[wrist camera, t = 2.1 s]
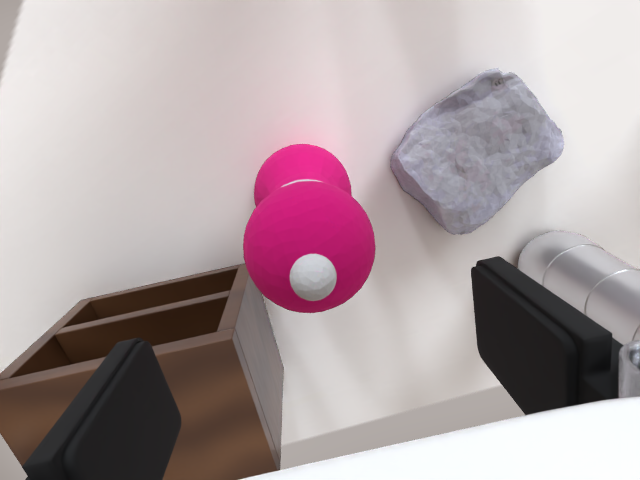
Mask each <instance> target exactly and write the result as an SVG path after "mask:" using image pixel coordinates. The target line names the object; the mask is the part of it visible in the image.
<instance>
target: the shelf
mask: <svg viewBox="0 0 640 480" xmlns="http://www.w3.org/2000/svg"><path fill="white" fill-rule="evenodd" d="M134 338H142V339H143V340H144V341H148V342H149V343H150V344H151V346H152V348H153V351H154V353H155V355H156V358H157V360H158V362H159V365H160V367H161V369H162V372H163V374H164V376H165V379H166V381H167V384H168V386H169V388H170V391H171V393H172V395H173V398H174V400H175V402H176V405H177V407H178V409H179V412H180V415H181V422H182V423H181V429H180V432H179V434H178V437H177V440H176V443H175V446H174V449H173V451H172V454H171V457H170V460H169V463H168V465H167V468H166V471H165V474H164V477H163V480H239V479H243V478H248V477H252V476H257V475H261V474H265V473H270V472H274V471H279V470H280V459H281V429H282V399H283V368H284V367H283V364H282V361H281V357H280V354H279V351H278V347H277V344H276V340H275V337H274V334H273V330H272V327H271V324H270V320H269V317H268V314H267V310H266V307H265V304H264V300H263V297H262V293H261V291H260V290H259V289H258V288H257V287H256V285H255V284H254V282H253V280H252V279H251V277H250V275H249V273H248V270H247V268H246V264H245V263H244V264H240V265H236V266H231V267H227V268H222V269H218V270H213V271H209V272H204V273H200V274H195V275H191V276H186V277H182V278H178V279H173V280H169V281H164V282H160V283H155V284H151V285H146V286H142V287H137V288H133V289H128V290H124V291H120V292H115V293H111V294H106V295H102V296H97V297H94V298H88V299H84V300H81V301H80V302H79V303H78V304H77V305H75V306H74V307H73V308H72V309H71V310H70V311H69V312H68V313H67V314H66V315H64V316H63V317H62V318H61V319H60V320H59V321H58V322H57V323H56V324H54V325H53V326H52V327H51V328H50V329H49V330H48V331H47V332H46V333H44V334H43V335H42V336H41V337H40V338H39V339H38V340H37V341H36V342H35V343H33V344H32V345H31V346H30V347H29V348H28V349H27V350H26V351H25V352H23V353H22V354H21V355H20V356H19V357H18V358H17V359H16V360H15V361H14V362H12V363H11V364H10V365H9V366H8V367H7V368H6V369H5V370H4V371H2V372H1V373H0V434H1V435H2V437H3V438H4V440H5V441H6V443H7V444H8V446H9V447H10V449H11V450H12V452H13V453H14V455H15V456H16V458H17V460H18V461H19V462H20V464H21V466H23V465H24V464H25V462H26V461H27V460H28V458H29V457H30V456H31V454H32V453H33V452H34V450H35V449H36V448H37V447H38V445H39V444H40V443H41V441H42V440H43V439H44V437H45V436H46V435H47V434H48V432H49V431H50V430H51V428H52V427H53V426H54V424H55V423H56V422H57V420H58V419H59V418H60V417H61V415H62V414H63V413H64V411H65V410H66V409H67V407H68V406H69V405H70V403H71V402H72V401H73V400H74V398H75V397H76V396H77V394H78V393H79V392H80V390H81V389H82V388H83V386H84V385H85V384H86V383H87V381H88V380H89V379H90V377H91V376H92V375H93V373H94V372H95V371H96V369H97V368H98V367H99V366H100V364H101V363H102V362H103V360H104V359H105V358H106V356H107V355H108V354H109V353H110V351H111V350H112V349H113V347H114V346H115V345H116V344H117V343H118V342H121V341H126V340H130V339H134Z"/></svg>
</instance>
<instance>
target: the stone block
mask: <svg viewBox="0 0 640 480" xmlns="http://www.w3.org/2000/svg"><path fill="white" fill-rule="evenodd" d="M563 147H564V140H563V136H562V132H561V130H560V129H559V128H557V126H556V124H555V123H554V122H553V121H552V120H551V119H550V118H549V116H548V115H547V114H546V112H545V110H544V109H543V107H542V106H541V105H540V104H539V102H538V100H537V98H536V97H535V96H534V94H533V93H532V92H531V91H530V90H529V88H528V87H527V86H526V85H525V83H524V82H523V80H522V79H520V78H519V77H518V76H517V75H516V74H514V73H512V72H509V73H502V72H501V71H500V70H499V69H498V68H496V69H491V70H487V71H485V72H482V73H480V74H479V75H477V76H476V77H475V78H473V79H472V80H471V81H469V82H468V83H467V84H465V85H464V86H462V87H461V88H460V89H458V90H456V91H454V92H452V93H451V94H450V95H449V96H447V97H446V98H445V99H443V100H441V101H440V102H437V103H436V104H435V105H434V106H432V107H431V108H429V109H428V110H427V111H425V112H424V113H423V114H422V115H421V116H420V117H419V118H418V120H417V121H416V122H415V123H414V124H413V125H412V126H411V127H410V128H409V129H408V130H407V132H406V134H405V136H404V138H403V140H402V142H401V144H400V145H399V147H398V148H397V149H396V151H395V152H394V153H393V155H392V158H391V169H392V171H393V173H394V174H395V175H396V177H397V179H398V181H399V183H400V185H401V187H402V188H403V190H404V191H406V192H407V193H409V194H410V195H412V196H413V197H414V198H415V199H417V200H418V201H419V202H421V203H422V204H423V205H424V206H425V207H426V209H427V210H428V211H429V212H430V214H431V215H432V216H433V217H434V218H435V220H436V221H437V222H438V223H439V224H440V225H441V226H442V227H443V228H444V229H445V230H446V231H447V232H449V233H451V234H466V233H471V232H472V231H474V230H476V229H477V228H478V227H480V226H481V225H483V224H485V223H486V222H487V221H488V220H489V219H490V218H491V217H493V216H494V214H495V213H496V212H497V211H499V210H500V209H501V208H502V207H503V206H504V205H505V204H506V203H507V202H508V200H509V199H510V198H511V197H512V196H513V194H514V193H515V192H516V191H517V190H518V188H519V187H520V186H521V185H522V184H523V183H524V182H526V181H527V180H528V179H530V178H531V177H532V176H534V175H535V174H536V173H537V172H538V171H539V170H541V169H543V168H544V167H546V166H548V165H550V164H551V163H553V162H554V161H555V160H556V159H557V158H558V157H559V156H560V155H561V154H562V151H563Z"/></svg>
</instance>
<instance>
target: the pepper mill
mask: <svg viewBox="0 0 640 480" xmlns="http://www.w3.org/2000/svg"><path fill="white" fill-rule="evenodd" d="M254 199H255V205H256V208H255V209H254V211H253V213H252V215H251V217H250V219H249V221H248V224H247V226H246V230H245V234H244V243H243V250H244V260H245V264H246V268H247V270H248V273H249V275H250V277H251V279H252V280H253V282H254V284H255V285H256V287H257V288H258V289H259V290H260V291H261V293H262V294H263V295H264V296H265V297H267V298H268V299H270V300H271V301H272V302H274V303H275V304H277V305H279V306H281V307H283V308H285V309H288V310H291V311H295V312H302V313H315V312H322V311H326V310H329V309H332V308H335V307H337V306H339V305H341V304H343V303H345V302H346V301H347V300H349V299H350V298H351V297H353V296H354V295H355V294H356V293H357V292H358V291H359V290H360V289H361V288H362V286H363V284H364V283H365V281H366V279H367V278H368V276H369V274H370V271H371V269H372V265H373V262H374V257H375V239H374V232H373V229H372V225H371V223H370V220H369V218H368V216H367V214H366V212H365V211H364V210H363V208H362V207H361V205H360V204H359V203H358V202H357V201H356V200H355V199H354V198H353V197H352V195H351V185H350V181H349V178H348V175H347V173H346V170H345V169H344V167H343V165H342V164H341V163H340V161H339V160H338V159H337V158H336V157H335V156H334V155H332V154H331V153H330V152H328V151H326V150H325V149H322V148H320V147H318V146H313V145H309V144H297V145H291V146H288V147H285V148H282V149H281V150H279V151H277V152H275V153H274V154H273V155H271V156H270V157H269V158H268V159H267V160H266V161H265V163H264V164H263V165H262V167H261V169H260V170H259V172H258V175H257V178H256V182H255V189H254Z"/></svg>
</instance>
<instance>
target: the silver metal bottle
mask: <svg viewBox="0 0 640 480" xmlns="http://www.w3.org/2000/svg"><path fill="white" fill-rule="evenodd" d="M518 269H519V270H520V271H522V272H523V273H525V274H526V275H527V276H529V277H530V278H532V279H533V280H535V281H536V282H538V283H539V284H541V285H542V286H544V287H545V288H547V289H548V290H549V291H551V292H552V293H554V294H555V295H557V296H558V297H560V298H561V299H563V300H564V301H566V302H567V303H569V304H570V305H571V306H573V307H574V308H576V309H577V310H579V311H580V312H582V313H583V314H585V315H586V316H588V317H589V318H591V319H592V320H594V321H595V322H596V323H598V324H599V325H601V326H602V327H604V328H605V329H607V330H608V331H610V332H611V333H612V337H613V338H614V339H615V340H617V341H618V342H620V343H621V344H623V345H625V344H626V343H629V342H632V341H635V340H640V269H638V268H636V267H633V266H631V265H629V264H628V263H626V262H624V261H622V260H620V259H619V258H617V257H615V256H613V255H612V254H610V253H608V252H606V251H605V250H604V249H603V248H601V247H600V246H599V245H598V244H596V243H595V242H593V241H592V240H590V239H588V238H587V237H585V236H583V235H581V234H576V233H571V232H566V231H551V232H547V233H545V234H542V235H540V236H538V237H536V238H534V239H533V240H531V241H530V242H529V243H528V244H527V245H526V246H525V247H524V249H523V250H522V252H521V254H520V256H519V260H518Z"/></svg>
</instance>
